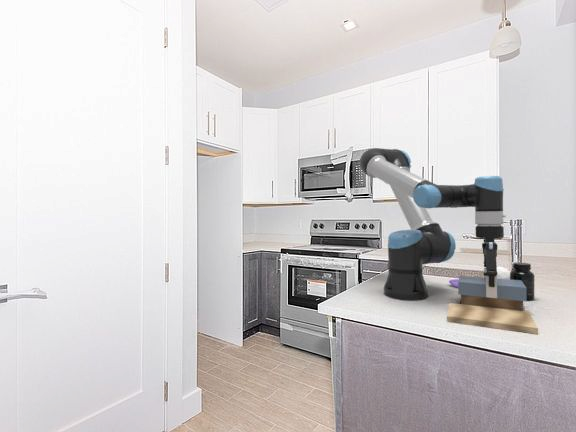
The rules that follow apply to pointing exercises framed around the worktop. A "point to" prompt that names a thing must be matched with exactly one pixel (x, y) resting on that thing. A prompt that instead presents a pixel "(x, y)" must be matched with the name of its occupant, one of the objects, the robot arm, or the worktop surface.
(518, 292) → the slate lid
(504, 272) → the ball
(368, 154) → the robot arm
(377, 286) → the worktop surface
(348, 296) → the worktop surface
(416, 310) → the worktop surface
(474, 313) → the oak cutting board
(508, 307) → the walnut spice box
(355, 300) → the worktop surface
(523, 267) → the supplement bottle
